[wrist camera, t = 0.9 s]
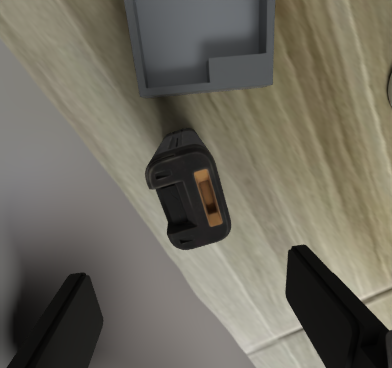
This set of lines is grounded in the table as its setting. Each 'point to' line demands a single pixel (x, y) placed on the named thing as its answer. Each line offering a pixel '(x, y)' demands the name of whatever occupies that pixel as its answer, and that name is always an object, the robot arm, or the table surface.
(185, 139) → the electronic device
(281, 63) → the table surface
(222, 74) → the keyhole dock
